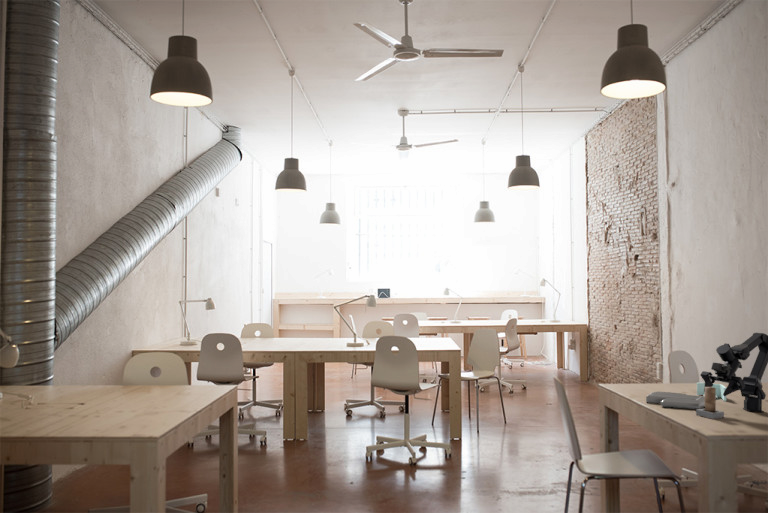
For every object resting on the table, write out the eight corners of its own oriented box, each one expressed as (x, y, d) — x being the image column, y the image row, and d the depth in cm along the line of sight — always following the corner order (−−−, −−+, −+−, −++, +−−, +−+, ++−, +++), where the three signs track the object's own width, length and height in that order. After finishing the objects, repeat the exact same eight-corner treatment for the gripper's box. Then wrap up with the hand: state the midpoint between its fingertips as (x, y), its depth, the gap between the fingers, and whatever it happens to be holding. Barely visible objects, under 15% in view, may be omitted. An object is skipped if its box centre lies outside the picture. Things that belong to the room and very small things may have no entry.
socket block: (707, 413, 273) (707, 408, 273) (724, 417, 266) (724, 411, 266) (696, 415, 270) (696, 409, 270) (712, 418, 262) (712, 413, 263)
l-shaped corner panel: (696, 396, 320) (696, 382, 320) (721, 398, 316) (721, 384, 316) (700, 400, 309) (700, 385, 309) (726, 402, 305) (726, 388, 305)
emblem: (679, 388, 311) (722, 399, 285) (679, 398, 311) (722, 410, 284) (634, 389, 304) (674, 400, 277) (634, 400, 304) (674, 412, 277)
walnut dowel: (712, 415, 270) (712, 386, 270) (717, 417, 265) (717, 388, 266) (702, 415, 270) (702, 386, 271) (707, 417, 266) (707, 388, 266)
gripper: (703, 354, 281) (687, 378, 276) (741, 359, 264) (726, 385, 259) (713, 370, 284) (698, 394, 279) (752, 376, 268) (737, 402, 262)
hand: (714, 393), depth 270 cm, fingers open, 9 cm apart
